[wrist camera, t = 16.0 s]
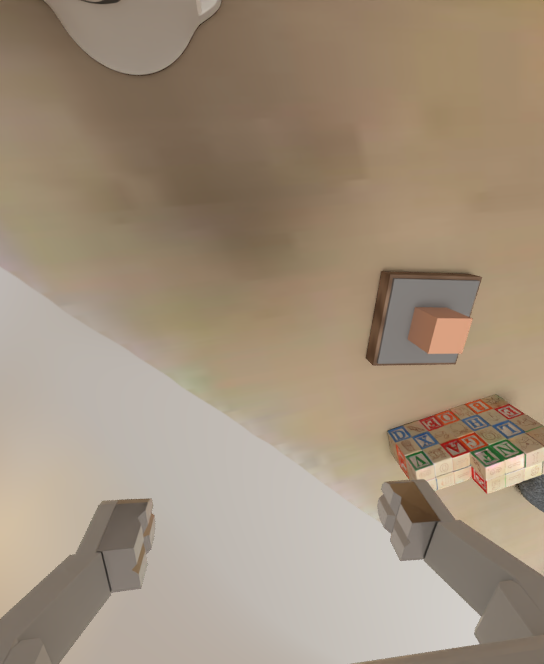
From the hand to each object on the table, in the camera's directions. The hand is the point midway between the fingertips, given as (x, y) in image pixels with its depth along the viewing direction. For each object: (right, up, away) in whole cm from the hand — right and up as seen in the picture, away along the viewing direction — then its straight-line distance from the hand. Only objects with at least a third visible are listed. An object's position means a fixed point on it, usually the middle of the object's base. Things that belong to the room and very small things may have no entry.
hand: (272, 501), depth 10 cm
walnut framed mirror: (+23, +8, +36) cm, 43 cm away
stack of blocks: (+32, -11, +45) cm, 56 cm away
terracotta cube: (+23, +7, +33) cm, 41 cm away
